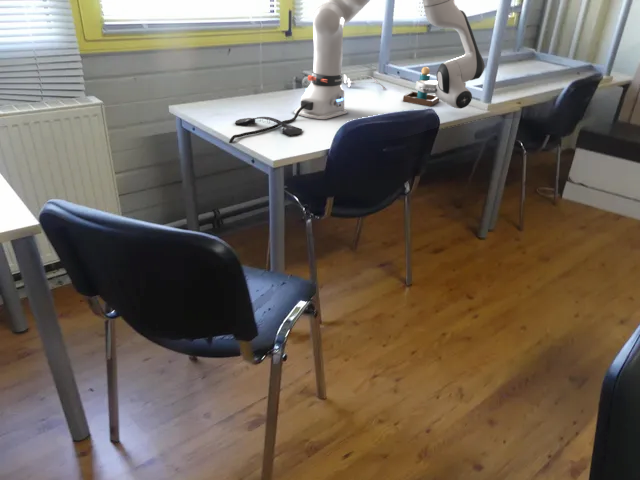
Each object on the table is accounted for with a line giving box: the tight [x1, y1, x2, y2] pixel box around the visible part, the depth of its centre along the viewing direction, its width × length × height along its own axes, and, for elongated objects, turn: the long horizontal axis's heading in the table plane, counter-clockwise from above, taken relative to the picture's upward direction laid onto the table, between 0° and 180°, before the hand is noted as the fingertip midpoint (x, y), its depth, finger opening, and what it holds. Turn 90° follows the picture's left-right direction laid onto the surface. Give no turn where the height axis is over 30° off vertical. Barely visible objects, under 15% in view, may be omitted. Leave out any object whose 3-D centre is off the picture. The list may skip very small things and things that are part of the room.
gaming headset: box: [234, 116, 303, 137], centre depth 192 cm, size 9×25×3 cm, turn 67°
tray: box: [402, 91, 440, 107], centre depth 246 cm, size 11×13×2 cm
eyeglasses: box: [343, 74, 387, 90], centre depth 264 cm, size 15×18×4 cm
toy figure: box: [417, 66, 431, 100], centre depth 243 cm, size 4×4×14 cm
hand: (431, 82), depth 235 cm, fingers open, 8 cm apart
